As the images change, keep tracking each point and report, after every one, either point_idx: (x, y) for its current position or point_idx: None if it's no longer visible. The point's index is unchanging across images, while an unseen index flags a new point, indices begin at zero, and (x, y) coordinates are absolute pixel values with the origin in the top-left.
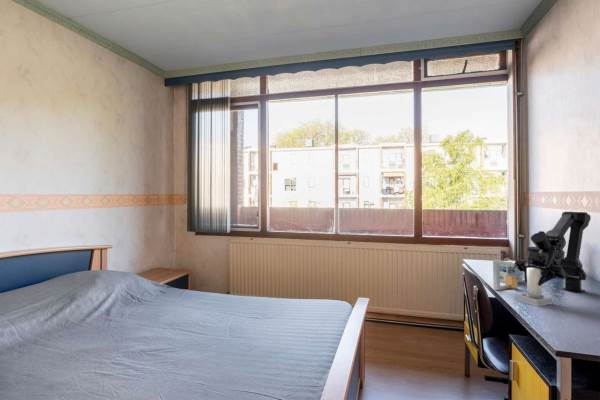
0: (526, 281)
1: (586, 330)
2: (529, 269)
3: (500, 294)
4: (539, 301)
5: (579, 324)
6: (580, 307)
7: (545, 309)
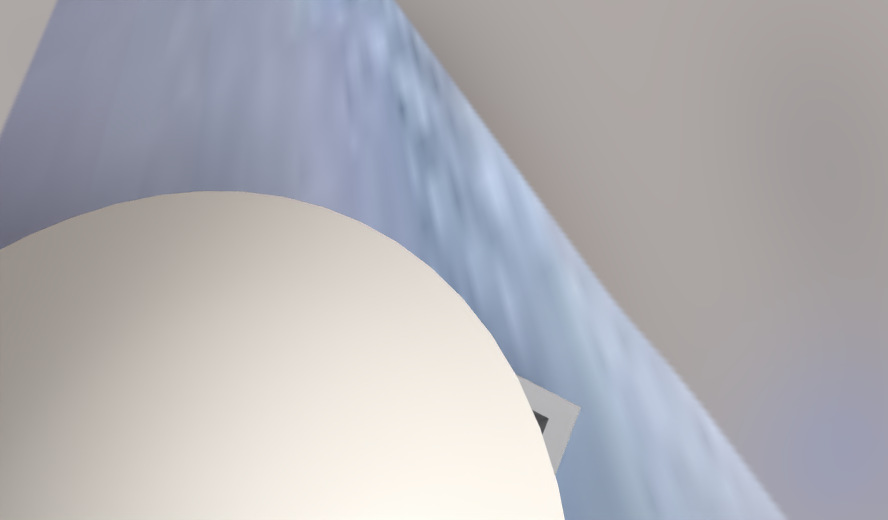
0: None
1: (87, 11)
2: (351, 221)
3: None
4: None
5: (99, 77)
6: None
7: None
